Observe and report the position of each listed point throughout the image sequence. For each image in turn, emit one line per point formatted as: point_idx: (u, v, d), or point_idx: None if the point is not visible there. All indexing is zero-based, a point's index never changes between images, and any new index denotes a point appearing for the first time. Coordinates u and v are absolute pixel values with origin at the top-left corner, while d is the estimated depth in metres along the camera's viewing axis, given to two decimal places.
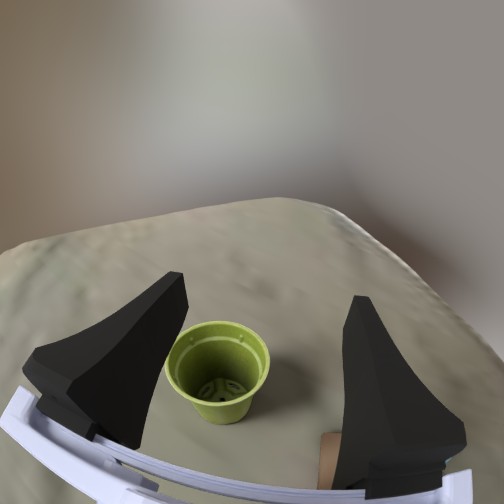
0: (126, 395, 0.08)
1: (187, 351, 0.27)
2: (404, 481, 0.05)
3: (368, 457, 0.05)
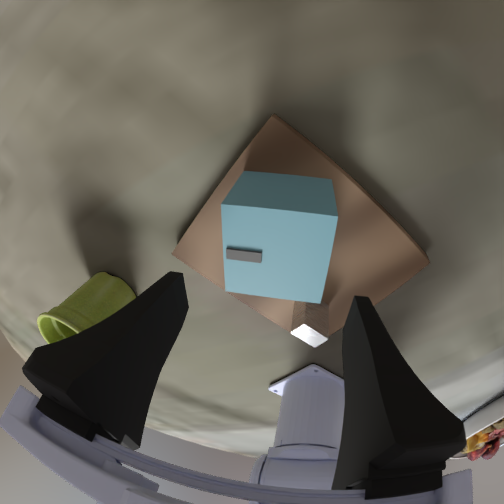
0: (126, 395, 0.08)
1: None
2: (404, 481, 0.05)
3: (368, 457, 0.05)
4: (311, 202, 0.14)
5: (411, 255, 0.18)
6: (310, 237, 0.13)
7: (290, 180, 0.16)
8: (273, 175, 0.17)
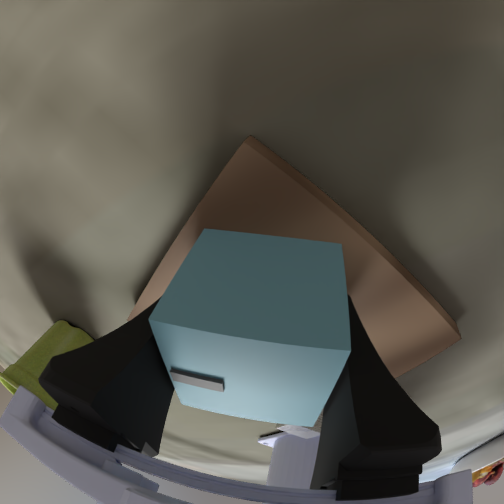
0: (147, 402, 0.08)
1: None
2: (377, 484, 0.05)
3: (338, 457, 0.06)
4: (306, 312, 0.08)
5: (440, 333, 0.12)
6: (300, 373, 0.07)
7: (274, 251, 0.10)
8: (248, 239, 0.11)
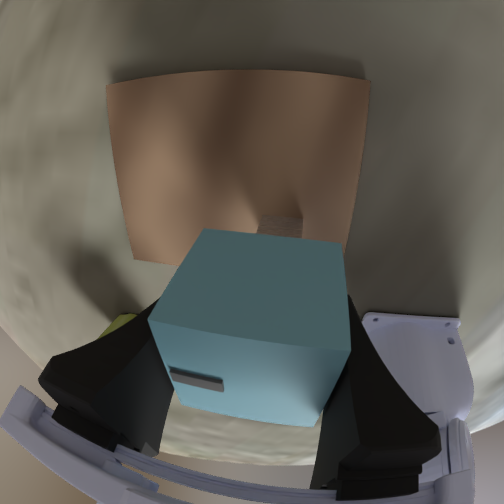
0: (147, 402, 0.08)
1: None
2: (377, 484, 0.05)
3: (338, 457, 0.06)
4: (306, 312, 0.08)
5: (336, 88, 0.12)
6: (300, 373, 0.07)
7: (274, 250, 0.10)
8: (248, 238, 0.11)
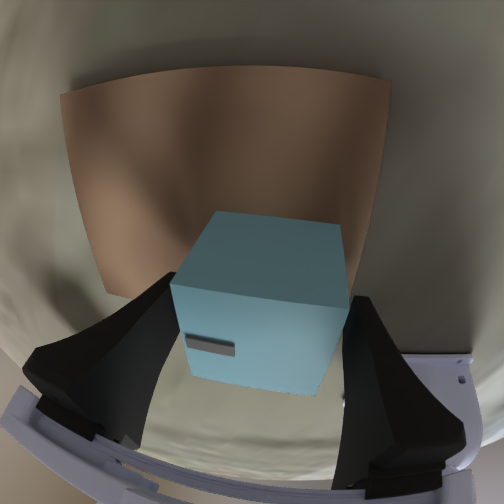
0: (126, 395, 0.08)
1: None
2: (404, 481, 0.05)
3: (368, 457, 0.05)
4: (310, 278, 0.09)
5: (346, 90, 0.09)
6: (305, 333, 0.09)
7: (280, 229, 0.11)
8: (256, 219, 0.12)
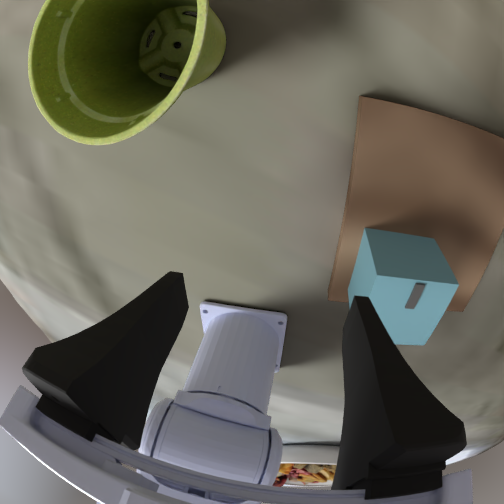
0: (126, 395, 0.08)
1: (68, 31, 0.09)
2: (404, 481, 0.05)
3: (368, 457, 0.05)
4: None
5: (465, 297, 0.19)
6: (415, 333, 0.16)
7: None
8: None
